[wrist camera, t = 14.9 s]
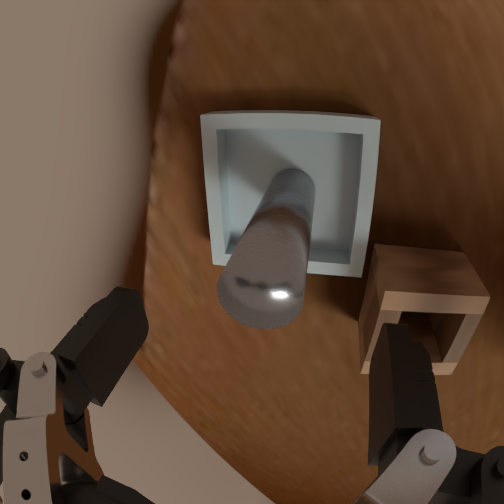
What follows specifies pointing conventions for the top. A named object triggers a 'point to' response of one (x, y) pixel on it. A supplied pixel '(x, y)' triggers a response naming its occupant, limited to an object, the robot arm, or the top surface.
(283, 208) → the pin
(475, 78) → the top surface
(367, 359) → the square hollow tube
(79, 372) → the robot arm
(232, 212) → the tray
